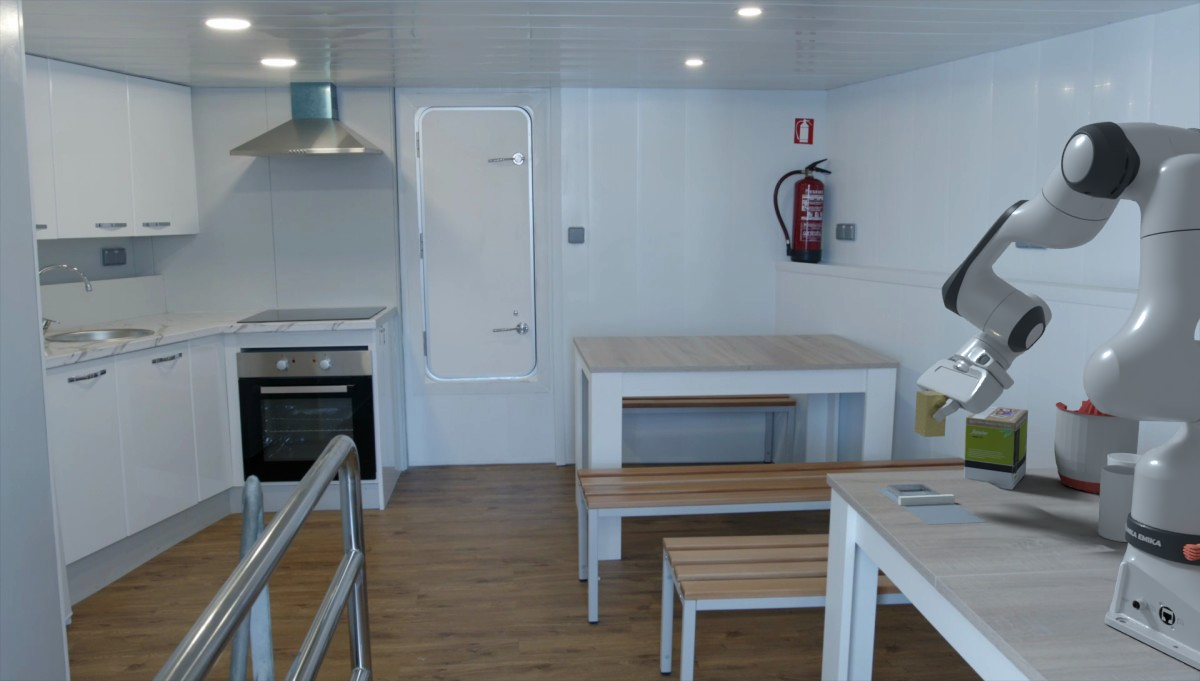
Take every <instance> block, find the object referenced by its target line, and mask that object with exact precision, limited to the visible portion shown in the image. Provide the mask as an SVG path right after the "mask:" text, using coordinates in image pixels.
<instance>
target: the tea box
mask: <svg viewBox="0 0 1200 681" xmlns="http://www.w3.org/2000/svg"><path fill="white" fill-rule="evenodd" d="M965 418H966V419H965V428H964V430H965V435H964V437H965V438H964V454H963V456H964V457H963V459H964V460H963V461H964V463H963V479H966V480H971V481H978V482H984V483H988V484H990V485H992V486H994V487H996V488H999V489H1001V490H1002V489H1003V490H1007V491H1008V490H1013V489H1014V488H1015V487H1016V485H1017V484H1018V483H1019V482H1020V481H1021V480H1022V478H1023V477H1024V476H1025V475H1026V474H1027V454H1028V453H1027V450H1028V449H1027V448H1028V444H1027V443H1028V422H1029V410H1028V409H1022V408H1021V409H1020V408H1012V407H1001V406H990V407H989V408H987V409H986V410H985V411H984V412H981V413H979V414H974V413H971V414H969V415H968V416H966V417H965Z"/></svg>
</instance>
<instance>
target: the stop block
mask: <svg viewBox="0 0 1200 681" xmlns="http://www.w3.org/2000/svg"><path fill="white" fill-rule="evenodd" d="M915 396H916V398H915V399H916V401H915V416H914V417H915V418H914V421H915V422H914V433H916V434H918V435H920V436H922V437H924V438H932V437H933V438H934V437H945V435H946V421H947V420H946V418H947V416H946V417H945V418H944V419H943V420H942V421H941V422H937V421H936V420H934V419H933V418H932V417H931V413H932V412H933V411H934V410H935V409H939V408H941V407H942V406H944V405H945V404H946V401H947V397H946V396H945V395H944V394H941V393H939V392H936V391H922V390H920V391H919V390H917V391H916V395H915Z"/></svg>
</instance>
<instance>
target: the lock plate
mask: <svg viewBox="0 0 1200 681" xmlns="http://www.w3.org/2000/svg"><path fill="white" fill-rule="evenodd" d="M875 490H876V491H878V492H879V493H880V494H883V495H884V496H885V497H887V498H888V499H890V500H892V501H893V502H894V503H896V504H897V505H899V506H900V507H902V508H903V509H904V510H906V511H908V512H909V513H910V514H912V515H913V516H915V517H916V518H918V519H920V520H921V521H923V522H924V523H926V524H927V525H931V526H932V525H949V524H950V525H951V524H953V525H954V524H973V523H974V524H976V523H977V524H978V523H987V521H985V520H984V519H982V518H980V517H979V516H977V515H975V514H973V513H972V512H970V511H969V510H966V509H965V508H963V507H962V506H960V505H958V504H956V503H955V496H956V495H954V494H952V493H948V494H947V493H945V494H941V495H928V494H926V493H925V492H923V491H921V490H918V491H900V492H902V493H903V494H905V495H918V496H898V498H897V497H895V496H894V495H892V494H891V493H889V492H888V491H887V487H884V488H875Z"/></svg>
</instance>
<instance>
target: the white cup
mask: <svg viewBox="0 0 1200 681" xmlns="http://www.w3.org/2000/svg"><path fill="white" fill-rule="evenodd" d="M1142 455H1143V454H1142ZM1142 455H1141V454H1138V453H1137V454H1130V453H1111V454H1108V455H1107V465H1121V466H1129V467H1134V468H1135V466H1136V464H1137V462H1138V460H1139V459H1140V457H1141V456H1142Z"/></svg>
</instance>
